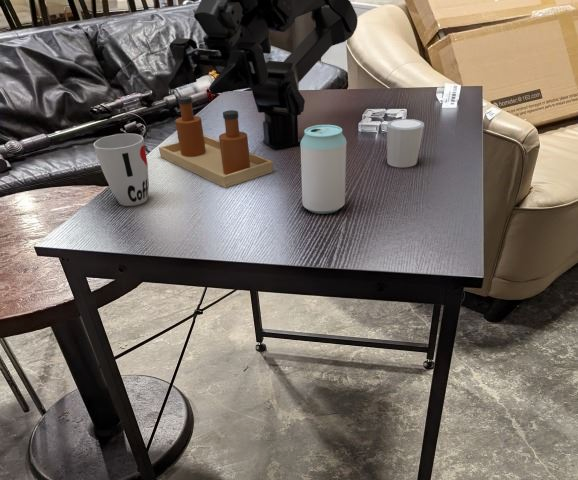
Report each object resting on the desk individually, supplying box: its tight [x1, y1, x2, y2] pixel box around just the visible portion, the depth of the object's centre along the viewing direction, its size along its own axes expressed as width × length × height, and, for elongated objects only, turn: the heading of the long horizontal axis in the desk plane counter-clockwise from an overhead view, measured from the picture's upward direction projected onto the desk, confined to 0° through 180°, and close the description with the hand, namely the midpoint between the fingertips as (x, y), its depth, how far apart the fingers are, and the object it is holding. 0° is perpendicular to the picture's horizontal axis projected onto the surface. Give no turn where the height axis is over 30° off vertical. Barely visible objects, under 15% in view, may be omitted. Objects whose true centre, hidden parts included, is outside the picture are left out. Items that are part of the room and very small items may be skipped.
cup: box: [93, 133, 150, 207], centre depth 90 cm, size 8×8×10 cm
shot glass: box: [386, 118, 425, 168], centre depth 99 cm, size 7×7×7 cm
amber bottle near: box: [218, 109, 250, 175], centre depth 97 cm, size 5×5×10 cm
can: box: [299, 124, 347, 215], centre depth 83 cm, size 7×7×12 cm
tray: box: [158, 134, 274, 189], centre depth 105 cm, size 24×11×2 cm, turn 39°
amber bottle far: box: [174, 95, 206, 157], centre depth 107 cm, size 5×5×10 cm
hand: (189, 88), depth 87 cm, fingers open, 9 cm apart
